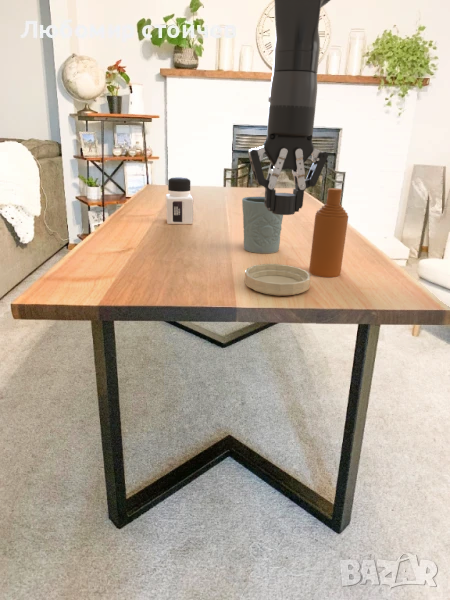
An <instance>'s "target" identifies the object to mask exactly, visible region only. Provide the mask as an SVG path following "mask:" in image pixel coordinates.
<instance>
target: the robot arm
mask: <svg viewBox="0 0 450 600" xmlns="http://www.w3.org/2000/svg"><path fill="white" fill-rule="evenodd" d="M329 2H331V0H274V25H275V43H274V49H273V62H272V64H273V65H272V75H271V81H270V87H269V96H268V112H267V113H268V114H267V126H266V127H267V128H266V138H265V141H264V142H263V145H262V146H259V147H257V148H256V147H255V148H249V149H248V150H247V155H248V159H249V163H250V166H251V171H252V174H253V178H254V182H255V183H256V184H257V185H259V186H261V187H264V197H265V201H264V204H265V207H266V208H267V209H268V211H274V205H275V193H277V192H276V191H277V190H276V189H275V188H276V185H277V182H278V179H279V178H280V175H281V173H282V171H284V170H288V169H289V170H291V175H292V176H293V182H294V188H293V189H292V194H295V195H296V202H295V213H297V212H298V213H299V211H300V209H302V208H303V206H304V197H305V196H304V195H305V190H306V189H308V188H311V187H312V188H313V187H315V186H316V185H317V183H318V180H319V179H320V176H321V173H322V172H323V170H324V167H325V165H326V162H327V160H328V158H329V153H328V152H327V151H324V150H323V151H322V150H320V149H317V148H315V145H314V142H313V135H314V125H315V117H316V116H315V114H316V106H317V96H318V70H319V60H320V51H321V50H320V49H321V38H320V33H319V32H320V31H319V26H320V25H319V24H320V15H321V9H322V8H323V7H324V6H326V5H327V4H328V3H329ZM264 154H265V155H266V157H267V158H268V160H269V162H270V164H269V167H268V170H267V176H266V177H265V175H264V171H263V167H262V163H261V161H263V160H264ZM310 156H311V162H312V164H311V166H310V168H309V171H308V173H307V175H306V172H305V171H306V170H305V164H306V162H307V160H308V159H309V158H310ZM305 176H306V178H305Z"/></svg>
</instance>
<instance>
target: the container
mask: <svg viewBox="0 0 450 600" xmlns="http://www.w3.org/2000/svg"><path fill="white" fill-rule="evenodd" d="M167 190H168V191H167V193H166V194H165V218H166V219H165V220H166V224H167V225H193V224H194V198H193V196H192V195H191V180H190V179H189V178H187V177H179V176H178V177H176V176H175V177H171V178H169V179H168V180H167Z"/></svg>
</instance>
